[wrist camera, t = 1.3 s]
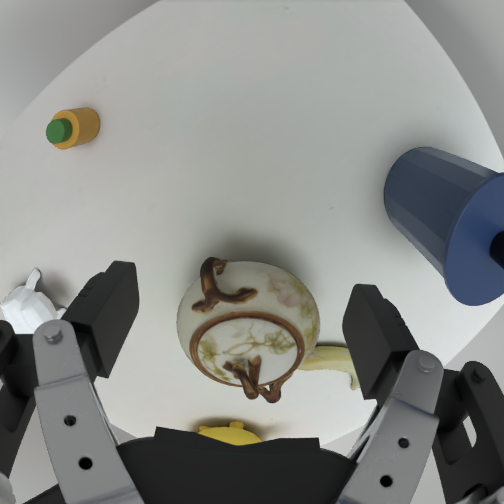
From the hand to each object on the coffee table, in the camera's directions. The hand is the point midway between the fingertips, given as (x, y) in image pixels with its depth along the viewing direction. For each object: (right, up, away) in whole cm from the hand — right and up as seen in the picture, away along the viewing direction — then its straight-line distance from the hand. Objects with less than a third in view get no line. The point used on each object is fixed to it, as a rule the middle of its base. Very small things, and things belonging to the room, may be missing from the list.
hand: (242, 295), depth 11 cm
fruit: (+13, -15, +32) cm, 38 cm away
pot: (+20, +8, +20) cm, 30 cm away
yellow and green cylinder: (-18, +15, +17) cm, 29 cm away
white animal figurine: (-32, -5, +27) cm, 42 cm away
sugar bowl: (0, -3, +26) cm, 26 cm away
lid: (+20, +2, +8) cm, 22 cm away
